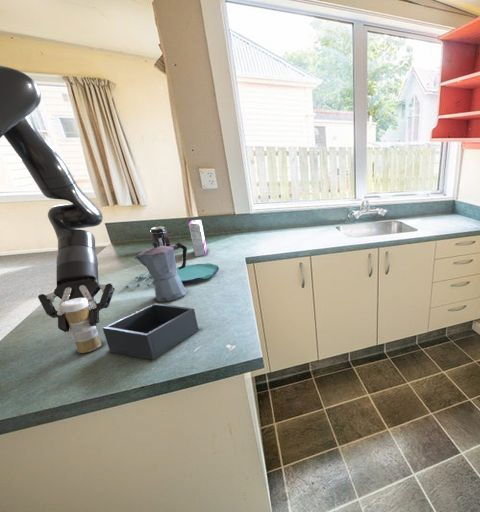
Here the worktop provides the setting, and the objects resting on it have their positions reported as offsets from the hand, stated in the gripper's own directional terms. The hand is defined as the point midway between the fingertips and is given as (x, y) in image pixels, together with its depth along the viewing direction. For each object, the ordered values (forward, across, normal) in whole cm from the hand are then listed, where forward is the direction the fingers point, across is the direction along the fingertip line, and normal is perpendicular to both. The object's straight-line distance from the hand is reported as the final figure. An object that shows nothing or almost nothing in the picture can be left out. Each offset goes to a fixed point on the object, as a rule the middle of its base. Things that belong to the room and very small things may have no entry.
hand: (79, 327), depth 72 cm
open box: (+7, +14, +3) cm, 16 cm away
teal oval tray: (-28, +19, +38) cm, 51 cm away
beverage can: (-63, +12, +74) cm, 98 cm away
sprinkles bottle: (+4, 0, +6) cm, 8 cm away
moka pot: (-14, +17, +25) cm, 33 cm away
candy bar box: (-51, +28, +62) cm, 85 cm away
